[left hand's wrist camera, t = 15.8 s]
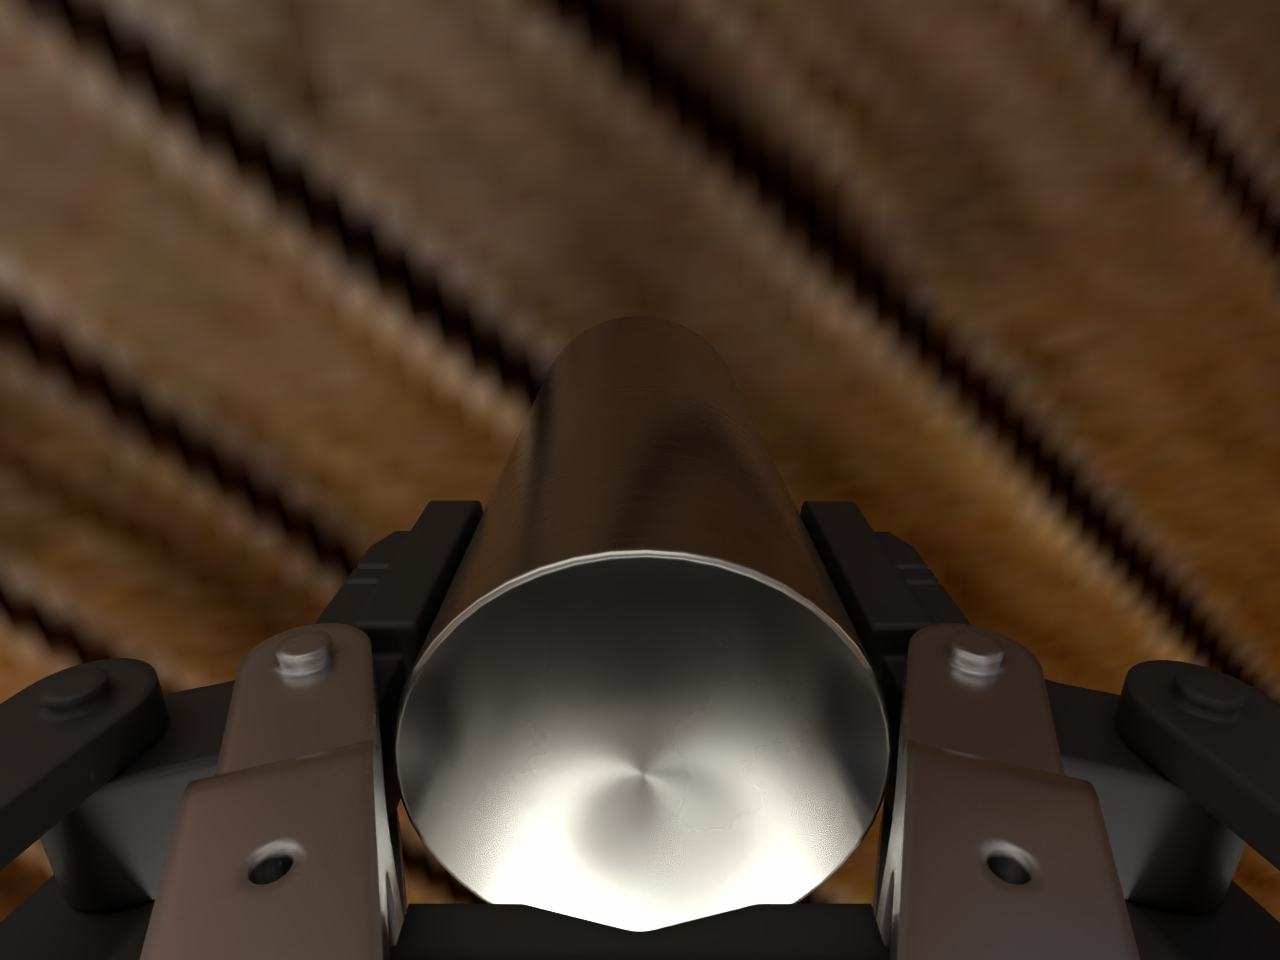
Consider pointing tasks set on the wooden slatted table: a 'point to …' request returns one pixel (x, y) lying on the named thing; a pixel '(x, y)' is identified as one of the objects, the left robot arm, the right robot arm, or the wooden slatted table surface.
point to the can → (641, 661)
